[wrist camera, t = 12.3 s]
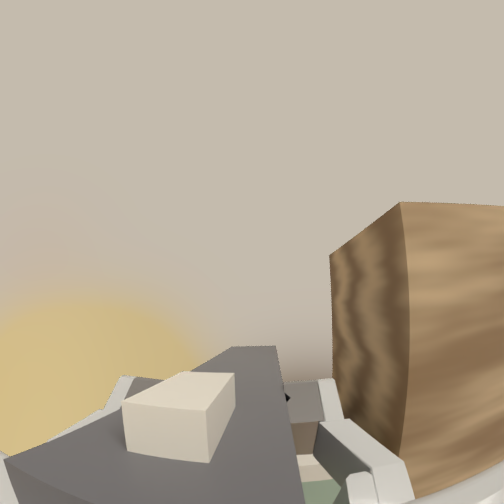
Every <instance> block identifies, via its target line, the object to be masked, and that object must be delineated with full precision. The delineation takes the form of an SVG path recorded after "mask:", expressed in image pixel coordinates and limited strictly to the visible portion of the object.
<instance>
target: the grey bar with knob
mask: <svg viewBox="0 0 504 504" xmlns="http://www.w3.org/2000/svg"><path fill="white" fill-rule="evenodd" d="M121 406H122V408H121V409H119V410H117V411H115V412H112V413H110V414H108V415H106V416H104V417H102V418H100V419H98V420H96V421H94V422H92V423H90V424H87V425H85V426H83V427H81V428H79V429H76V430H74V431H72V432H70V433H67V434H65V435H63V436H61V437H58V438H56V439H54V440H51V441H49V442H46V443H44V444H42V445H39V446H37V447H34V448H32V449H29V450H27V451H24V452H21V453H19V454H16V455H14V456H11V457H8V458H5V459H3V461H4V464H5V467H6V470H7V473H8V476H9V479H10V482H11V485H12V487H13V490H14V493H15V495H16V498H17V500H18V503H19V504H305V499H304V493H303V488H302V482H301V477H300V472H299V466H298V461H297V456H296V450H295V445H294V439H293V434H292V429H291V424H290V418H289V413H288V408H287V402H286V397H285V392H284V387H283V381H282V376H281V371H280V366H279V361H278V356H277V350H276V346H246V347H231V348H229V349H227V350H226V351H224V352H222V353H221V354H219V355H218V356H216V357H214V358H212V359H211V360H209V361H207V362H205V363H204V364H202V365H200V366H199V367H197V368H195V369H193V370H192V371H190V372H186V371H182V372H180V373H178V374H176V375H174V376H172V377H170V378H169V379H166V380H164V381H162V382H160V383H158V384H156V385H154V386H152V387H150V388H148V389H146V390H144V391H142V392H140V393H138V394H135V395H133V396H131V397H129V398H127V399H125V400H123V401H121Z"/></svg>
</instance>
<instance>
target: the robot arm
mask: <svg viewBox="0 0 504 504" xmlns="http://www.w3.org/2000/svg"><path fill="white" fill-rule="evenodd" d="M162 381H164V380H158V379H150V378H143V377H134V376H127V375H123V376H121V377H120V378H119V380H118V382H117V384H116V386H115V387H114V389H113V391H112V393H111V395H110V397H109V399H108V401H107V403H106V405H105V407H104V409H103V410H102V409H99V410H97V411H96V412H94V413H92V414H91V415H89V416H87V417H86V418H84V419H83V420H81V421H79V422H78V423H76V424H74V425H73V426H71V427H69V428H68V429H66V430H64V431H63V432H61V433H59V434H58V435H56V436H54V437H52V438H51V439H49V440H48V441H47V442H49V441H51V440H54V439H56V438H58V437H61V436H63V435H65V434H67V433H70V432H72V431H74V430H76V429H79V428H81V427H83V426H85V425H87V424H90V423H92V422H94V421H96V420H98V419H100V418H102V417H104V416H106V415H108V414H110V413H112V412H115V411H117V410H119V409H121V408H122V406H121V401H123V400H125V399H127V398H129V397H131V396H133V395H135V394H138V393H140V392H142V391H144V390H146V389H148V388H150V387H152V386H154V385H156V384H158V383H160V382H162ZM283 387H284V392H285V397H286V402H287V408H288V413H289V418H290V424H291V429H292V434H293V439H294V445H295V450H296V455H307V454H313V456H314V457H315V459H316V460H317V461H318V462H319V463H320V464H321V466H322V467H323V468H324V469H325V470H326V471H327V472H328V474H329V475H330V476H331V477H332V478H333V479H334V480H335V481H336V482H337V484H338V485H339V486H340V487H341V489H340V491H339V493H338V495H337V497H336V498H335V500H334V502H333V504H504V460H503V461H501V462H499V463H497V464H495V465H494V466H492V467H490V468H488V469H486V470H484V471H482V472H480V473H478V474H476V475H474V476H472V477H470V478H468V479H466V480H464V481H461V482H459V483H457V484H455V485H452V486H450V487H447V488H445V489H442V490H440V491H437V492H435V493H432V494H429V495H426V496H424V497H421V498H418V499H415V496H414V493H413V489H412V486H411V483H410V479H409V476H408V473H407V469H406V466H405V463H404V461H403V460H401V459H400V458H399V457H397V456H396V455H395V454H393V453H392V452H391V451H389V450H388V449H387V448H386V447H384V446H383V445H382V444H380V443H379V442H378V441H377V440H375V439H374V438H373V437H371V436H370V435H369V434H368V433H366V432H365V431H364V430H363V429H361V428H360V427H359V426H358V425H357V424H355V423H354V422H353V421H352V420H350V419H344V416H343V411H342V407H341V403H340V399H339V395H338V391H337V387H336V383H335V380H334V379H333V378H330V379H320V380H308V381H294V382H283ZM8 457H10V456H8V455H6V454H5V453H3V452H2V451H0V504H19V503H18V500H17V498H16V495H15V493H14V490H13V487H12V485H11V482H10V479H9V476H8V473H7V470H6V467H5V464H4V461H3V459H5V458H8Z"/></svg>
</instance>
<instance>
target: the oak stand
mask: <svg viewBox="0 0 504 504" xmlns="http://www.w3.org/2000/svg"><path fill="white" fill-rule="evenodd" d="M329 258H330V276H331V297H332V335H333V373H332V378H333V379H334V380H335V383H336V387H337V391H338V395H339V399H340V403H341V407H342V411H343V416H344V419H350V420H352V421H353V422H354V423H355V424H357V425H358V426H359V427H360V428H361V429H363V430H364V431H365V432H366V433H368V434H369V435H370V436H371V437H373V438H374V439H375V440H377V441H378V442H379V443H380V444H382V445H383V446H384V447H386V448H387V449H388V450H389V451H391V452H392V453H393V454H395V455H396V456H397V457H399V458H400V459H401V460H403V461H404V463H405V466H406V469H407V473H408V476H409V479H410V483H411V486H412V489H413V493H414V496H415V499H418V498H421V497H424V496H426V495H429V494H432V493H435V492H437V491H440V490H442V489H445V488H447V487H450V486H452V485H455V484H457V483H459V482H461V481H464V480H466V479H468V478H470V477H472V476H474V475H476V474H478V473H480V472H482V471H484V470H486V469H488V468H490V467H492V466H494V465H495V464H497V463H499V462H501V461H503V460H504V206H493V205H475V204H455V203H428V202H399V203H398V204H396V205H395V206H394V207H393V208H391V209H390V210H389V211H387V212H386V213H385V214H384V215H382V216H381V217H380V218H378V219H377V220H376V221H375V222H373V223H372V224H371V225H369V226H368V227H367V228H365V229H364V230H363V231H361V232H360V233H359V234H358V235H356V236H355V237H353V238H352V239H351V240H349V241H348V242H347V243H345V244H344V245H343V246H341V247H340V248H339V249H338V250H336V251H335V252H333V253H332V254H330V256H329Z"/></svg>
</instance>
